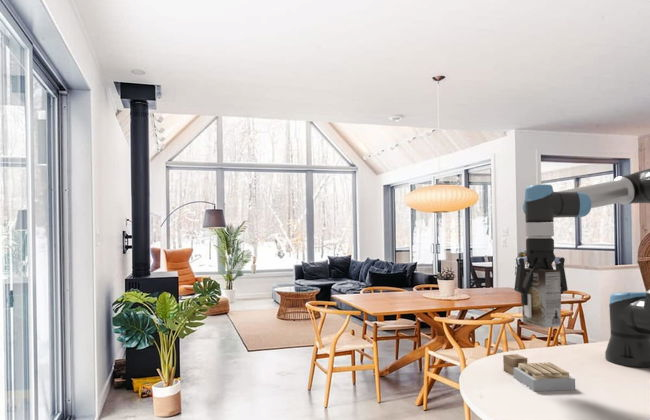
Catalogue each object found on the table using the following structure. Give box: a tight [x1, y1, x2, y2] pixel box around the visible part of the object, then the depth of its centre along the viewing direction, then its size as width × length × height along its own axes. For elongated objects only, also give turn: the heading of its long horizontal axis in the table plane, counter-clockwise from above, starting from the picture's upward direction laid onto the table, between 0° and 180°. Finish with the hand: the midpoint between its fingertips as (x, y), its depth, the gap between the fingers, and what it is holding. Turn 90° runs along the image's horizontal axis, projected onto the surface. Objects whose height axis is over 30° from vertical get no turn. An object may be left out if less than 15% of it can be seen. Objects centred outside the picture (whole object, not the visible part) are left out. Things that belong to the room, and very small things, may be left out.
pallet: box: [518, 362, 570, 379], centre depth 140 cm, size 10×10×2 cm
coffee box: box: [521, 267, 562, 329], centre depth 141 cm, size 9×6×16 cm
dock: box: [513, 367, 576, 392], centre depth 140 cm, size 12×12×3 cm
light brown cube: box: [502, 353, 528, 376], centre depth 150 cm, size 5×5×5 cm
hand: (541, 316), depth 140 cm, fingers closed on coffee box, 7 cm apart
